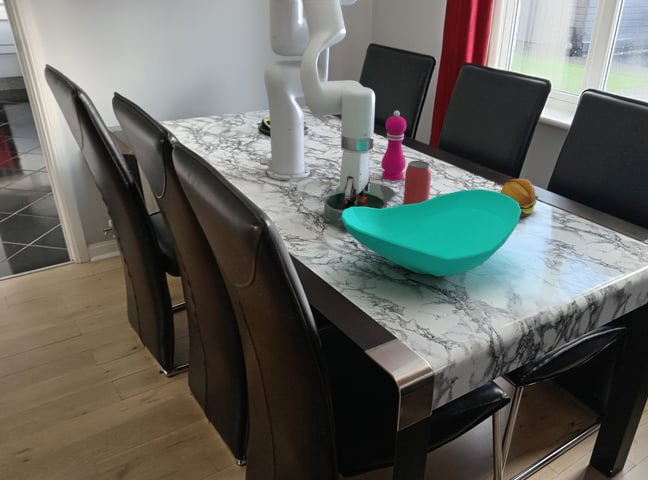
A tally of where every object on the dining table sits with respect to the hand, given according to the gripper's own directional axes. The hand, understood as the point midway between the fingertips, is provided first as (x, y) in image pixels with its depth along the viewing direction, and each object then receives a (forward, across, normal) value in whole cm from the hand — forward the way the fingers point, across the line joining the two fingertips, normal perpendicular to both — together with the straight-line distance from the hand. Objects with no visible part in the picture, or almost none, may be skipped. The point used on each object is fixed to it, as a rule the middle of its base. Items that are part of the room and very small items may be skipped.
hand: (354, 214), depth 144 cm
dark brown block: (+1, 0, 0) cm, 1 cm away
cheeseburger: (+1, -20, +39) cm, 44 cm away
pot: (+1, 0, 0) cm, 1 cm away
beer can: (+1, -13, +13) cm, 18 cm away
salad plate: (+1, -70, -48) cm, 85 cm away
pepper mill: (+1, -34, +2) cm, 34 cm away
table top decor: (+1, +20, +22) cm, 30 cm away
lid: (+1, -17, -2) cm, 17 cm away
